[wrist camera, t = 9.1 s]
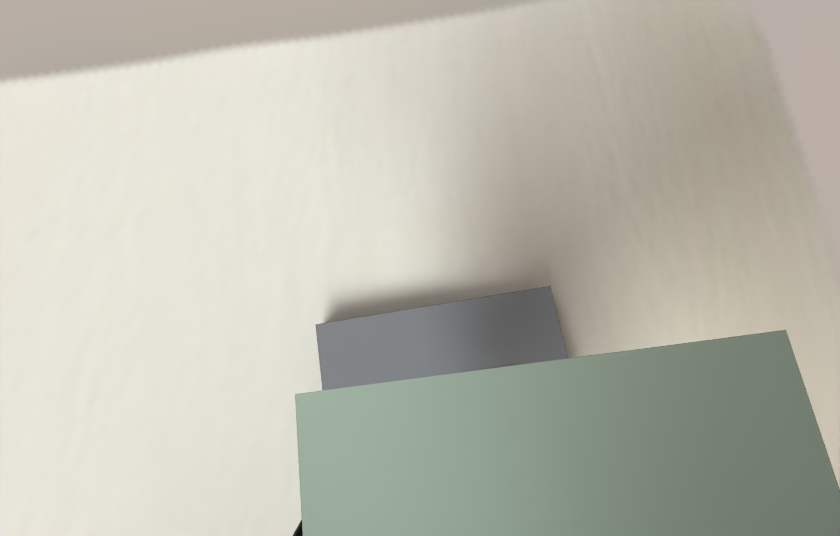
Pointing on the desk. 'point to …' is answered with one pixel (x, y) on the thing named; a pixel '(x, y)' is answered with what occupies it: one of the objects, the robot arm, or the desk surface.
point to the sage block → (575, 449)
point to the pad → (441, 339)
